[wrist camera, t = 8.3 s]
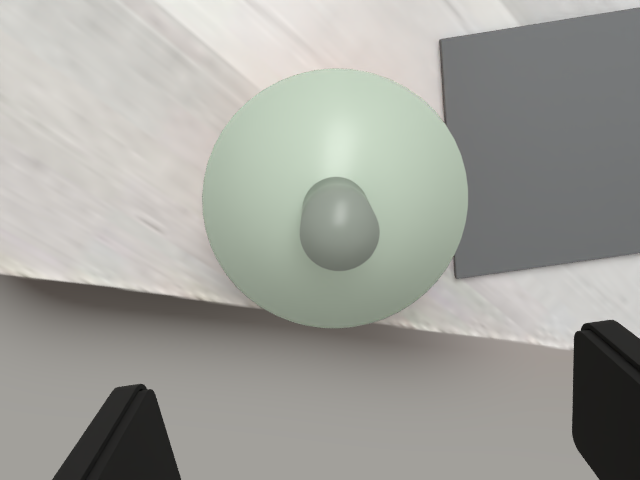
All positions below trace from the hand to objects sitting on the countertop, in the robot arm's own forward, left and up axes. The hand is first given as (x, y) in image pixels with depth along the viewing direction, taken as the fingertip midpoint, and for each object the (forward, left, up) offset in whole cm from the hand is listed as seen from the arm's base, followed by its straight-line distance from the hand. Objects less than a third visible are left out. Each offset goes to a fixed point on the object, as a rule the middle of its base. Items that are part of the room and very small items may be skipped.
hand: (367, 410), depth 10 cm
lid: (0, 0, -19) cm, 19 cm away
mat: (-18, 0, -26) cm, 32 cm away
